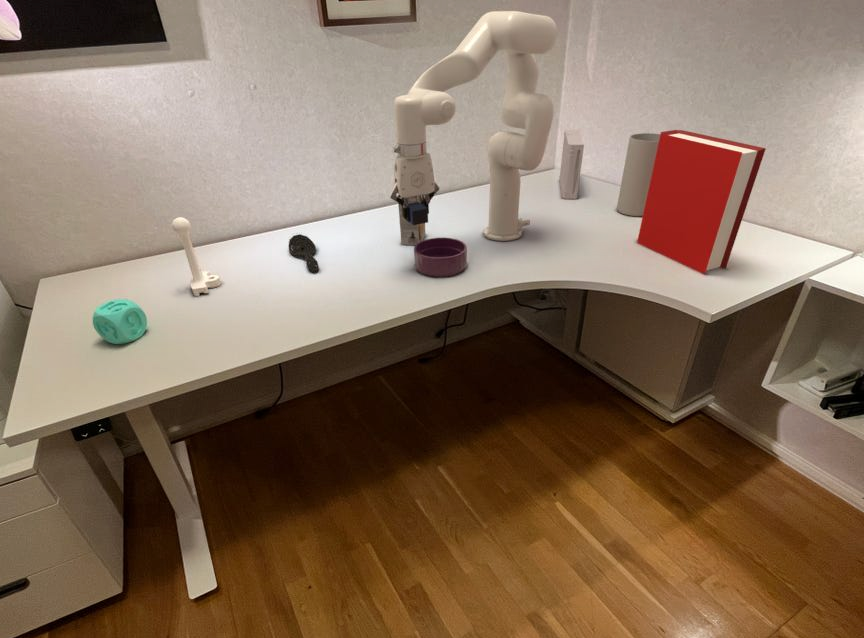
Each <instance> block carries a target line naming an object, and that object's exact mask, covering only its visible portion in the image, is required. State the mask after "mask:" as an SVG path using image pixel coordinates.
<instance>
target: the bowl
mask: <svg viewBox="0 0 864 638" xmlns="http://www.w3.org/2000/svg"><path fill="white" fill-rule="evenodd" d="M413 256H414V259H413V260H414V267H415V269H416V270H417V271H418V272H419V273H421V274H422V275H424V276H428V277H432V278H446V277H452V276H456V275H458V274H460V273H461V272H463V271H464V269H465V268H467V265H468V246H467V243H465V242H464V241H462V240H460V239H457V238H452V237H432V238H427V239H423V240H422V241H421V242H419V243H417V244H416V245H414V247H413Z"/></svg>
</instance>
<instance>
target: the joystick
mask: <svg viewBox="0 0 864 638" xmlns="http://www.w3.org/2000/svg"><path fill="white" fill-rule="evenodd" d="M171 229H172V230H173V231H174V233H176V234H177V235H178V236H179V238H180V240H181V242H182V245H183V249H184V252H185V256H186V259H187V262H188V265H189V269H190V273H191V275H192V278H191V279H190V287H191V290H192V294H193V295H194V297H200V296H201V295H200V294H201V293H203V294H208V293H209V289H210V288H211V289H213V288H218V287H219V286H220V285H221V283H222V281H221V278H220V276H219V275H217V274H211V272H210V270H204V271H202V269H201V266H200V264H199V260H198V258H197V255H196V251H195V249H194V247H193V244H192V241H191V238H190V235H189V234H190V232H191V229H192V226H191V223H190V221H189V220H188V219H187V218H185V217H181V216H180V217H176V218H174V219H173V220H172V223H171Z"/></svg>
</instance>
